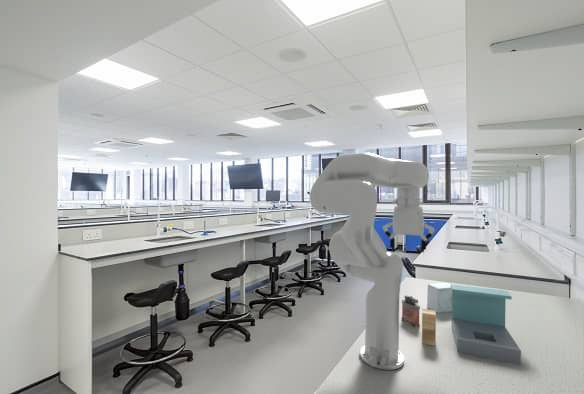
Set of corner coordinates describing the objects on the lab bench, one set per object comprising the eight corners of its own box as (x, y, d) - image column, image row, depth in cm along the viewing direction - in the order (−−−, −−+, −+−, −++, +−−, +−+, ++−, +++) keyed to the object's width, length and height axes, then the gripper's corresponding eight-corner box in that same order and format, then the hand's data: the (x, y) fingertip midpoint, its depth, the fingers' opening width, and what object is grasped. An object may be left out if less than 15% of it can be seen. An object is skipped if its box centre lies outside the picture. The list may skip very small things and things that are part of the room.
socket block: (522, 364, 83) (523, 309, 83) (455, 351, 90) (455, 299, 90) (506, 337, 99) (506, 291, 99) (450, 327, 106) (450, 284, 106)
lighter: (399, 319, 113) (399, 293, 113) (406, 318, 114) (406, 293, 114) (414, 328, 106) (415, 300, 106) (422, 326, 107) (422, 299, 107)
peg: (435, 345, 93) (435, 314, 93) (421, 343, 95) (422, 312, 95) (435, 340, 97) (435, 310, 97) (421, 337, 98) (422, 308, 98)
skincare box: (438, 313, 120) (438, 288, 120) (426, 307, 126) (426, 283, 126) (457, 310, 123) (458, 286, 123) (445, 305, 129) (446, 282, 129)
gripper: (382, 202, 102) (381, 250, 102) (436, 203, 96) (435, 254, 96) (383, 202, 109) (383, 247, 109) (434, 202, 103) (433, 250, 103)
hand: (407, 250), depth 102 cm, fingers open, 9 cm apart
